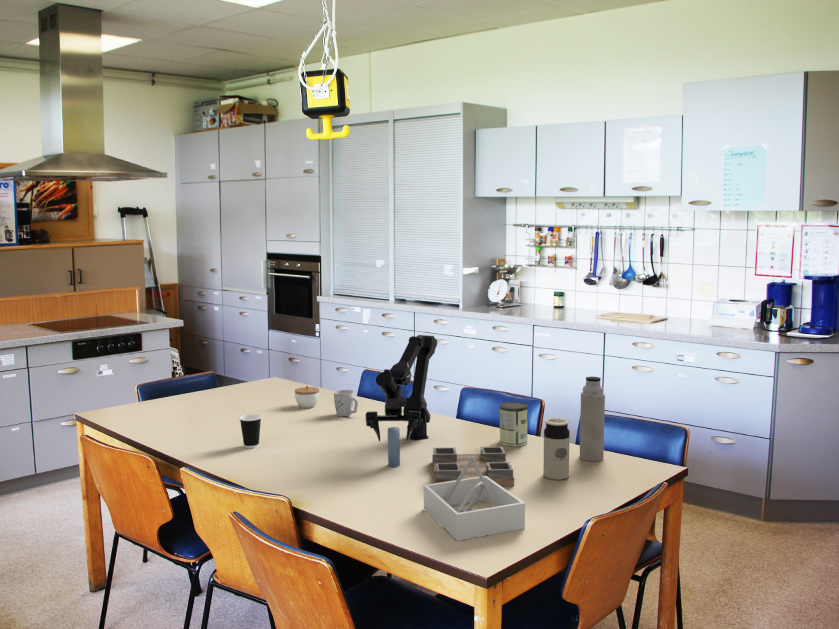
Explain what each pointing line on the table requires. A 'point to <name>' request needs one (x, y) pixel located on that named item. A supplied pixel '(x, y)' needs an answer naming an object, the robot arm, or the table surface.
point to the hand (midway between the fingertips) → (393, 440)
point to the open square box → (477, 521)
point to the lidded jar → (307, 396)
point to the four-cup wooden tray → (488, 462)
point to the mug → (345, 402)
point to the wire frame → (480, 484)
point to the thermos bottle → (592, 420)
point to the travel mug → (556, 449)
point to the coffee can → (513, 423)
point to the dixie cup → (250, 430)
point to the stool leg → (393, 447)
